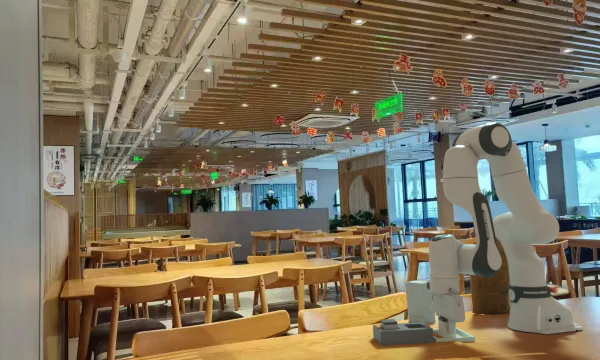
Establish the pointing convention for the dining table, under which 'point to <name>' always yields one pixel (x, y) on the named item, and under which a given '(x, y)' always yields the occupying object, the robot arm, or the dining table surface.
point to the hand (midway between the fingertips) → (447, 331)
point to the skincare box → (418, 303)
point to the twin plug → (389, 324)
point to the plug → (444, 328)
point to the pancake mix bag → (491, 290)
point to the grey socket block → (404, 334)
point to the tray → (460, 336)
